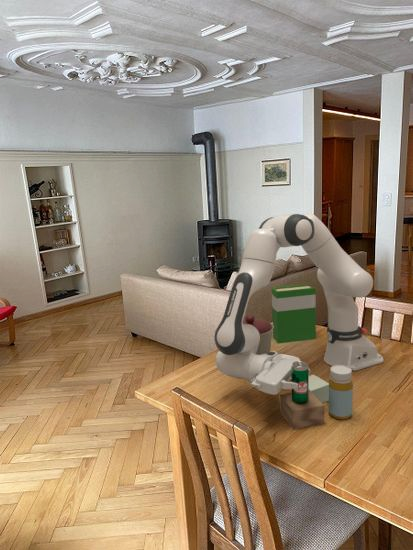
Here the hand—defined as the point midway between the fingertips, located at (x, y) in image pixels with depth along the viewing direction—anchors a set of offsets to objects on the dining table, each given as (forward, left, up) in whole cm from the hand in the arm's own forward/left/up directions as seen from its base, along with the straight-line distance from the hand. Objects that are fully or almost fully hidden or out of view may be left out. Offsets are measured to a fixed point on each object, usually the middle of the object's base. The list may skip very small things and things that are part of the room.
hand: (304, 379), depth 123 cm
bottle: (-11, +1, -13) cm, 18 cm away
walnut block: (+1, -1, -13) cm, 13 cm away
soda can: (+1, 0, -7) cm, 7 cm away
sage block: (-7, -10, -13) cm, 18 cm away
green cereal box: (-23, -60, -13) cm, 65 cm away
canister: (+4, -40, -13) cm, 42 cm away
